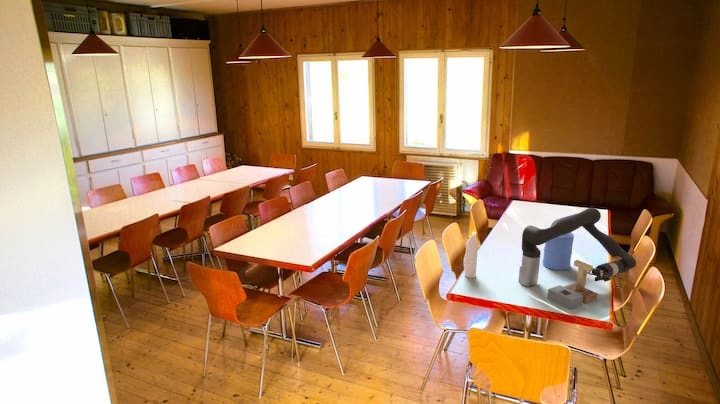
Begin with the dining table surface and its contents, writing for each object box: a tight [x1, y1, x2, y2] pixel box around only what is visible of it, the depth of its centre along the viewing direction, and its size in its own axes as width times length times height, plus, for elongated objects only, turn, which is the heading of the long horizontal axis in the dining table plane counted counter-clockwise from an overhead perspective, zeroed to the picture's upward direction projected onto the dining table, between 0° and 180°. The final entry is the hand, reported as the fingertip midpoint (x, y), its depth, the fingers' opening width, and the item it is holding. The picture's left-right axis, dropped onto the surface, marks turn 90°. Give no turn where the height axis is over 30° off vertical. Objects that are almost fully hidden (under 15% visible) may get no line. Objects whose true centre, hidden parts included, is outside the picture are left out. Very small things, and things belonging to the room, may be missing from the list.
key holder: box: [547, 284, 584, 310], centre depth 244 cm, size 14×9×6 cm, turn 30°
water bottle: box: [464, 231, 479, 279], centre depth 275 cm, size 9×6×25 cm
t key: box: [573, 259, 594, 292], centre depth 247 cm, size 9×3×18 cm, turn 30°
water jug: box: [542, 232, 575, 271], centre depth 286 cm, size 16×16×28 cm
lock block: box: [563, 282, 598, 304], centre depth 250 cm, size 14×9×4 cm, turn 30°
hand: (587, 276), depth 250 cm, fingers open, 8 cm apart
